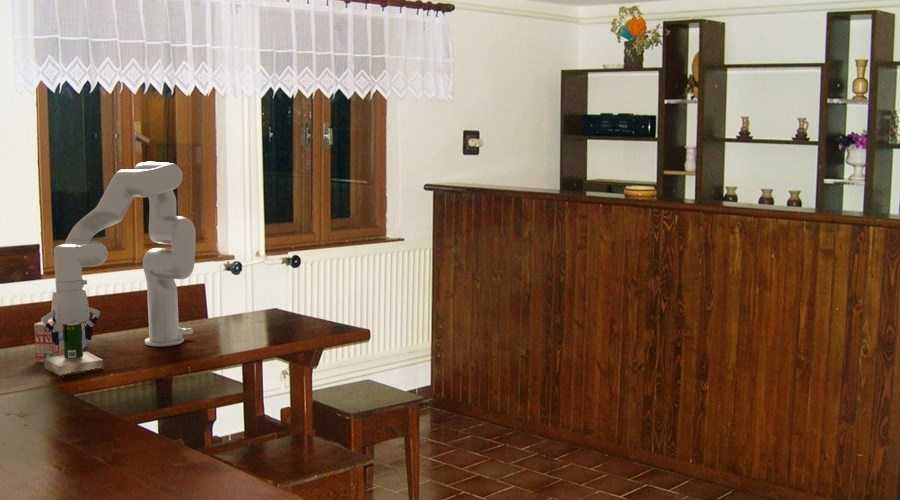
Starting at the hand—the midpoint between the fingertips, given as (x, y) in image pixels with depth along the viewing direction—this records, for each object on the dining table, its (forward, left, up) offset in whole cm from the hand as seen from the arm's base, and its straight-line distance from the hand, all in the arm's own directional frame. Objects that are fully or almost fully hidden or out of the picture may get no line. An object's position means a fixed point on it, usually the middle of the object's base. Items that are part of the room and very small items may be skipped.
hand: (72, 341), depth 313 cm
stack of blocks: (-4, -20, -9) cm, 22 cm away
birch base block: (0, 0, -8) cm, 8 cm away
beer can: (0, 0, -6) cm, 6 cm away
